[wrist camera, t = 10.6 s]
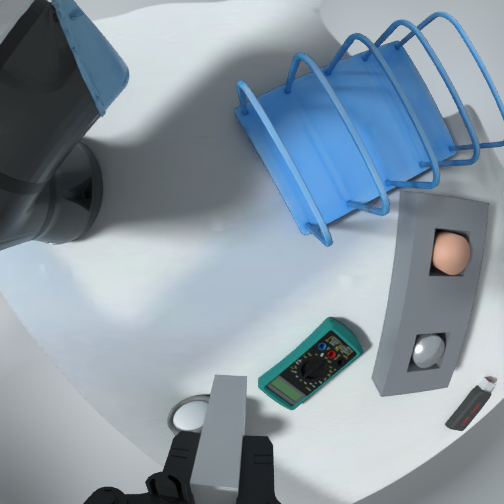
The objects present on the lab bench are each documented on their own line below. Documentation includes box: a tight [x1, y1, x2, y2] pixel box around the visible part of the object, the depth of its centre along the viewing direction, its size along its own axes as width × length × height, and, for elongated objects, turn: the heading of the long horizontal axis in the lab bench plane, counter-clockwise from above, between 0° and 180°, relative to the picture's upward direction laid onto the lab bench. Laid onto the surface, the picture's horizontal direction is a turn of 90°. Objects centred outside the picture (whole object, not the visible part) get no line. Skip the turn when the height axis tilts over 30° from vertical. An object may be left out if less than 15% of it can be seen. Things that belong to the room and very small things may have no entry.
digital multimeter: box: [258, 317, 363, 410], centre depth 42 cm, size 7×15×3 cm, turn 137°
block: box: [372, 191, 489, 397], centre depth 38 cm, size 28×12×5 cm, turn 178°
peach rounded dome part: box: [431, 230, 470, 275], centre depth 35 cm, size 5×5×4 cm
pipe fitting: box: [167, 395, 210, 436], centre depth 41 cm, size 12×8×10 cm, turn 16°
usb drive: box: [445, 377, 496, 431], centre depth 44 cm, size 5×12×3 cm, turn 154°
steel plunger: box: [411, 333, 444, 368], centre depth 39 cm, size 5×5×4 cm
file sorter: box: [235, 12, 504, 247], centre depth 29 cm, size 25×17×15 cm
